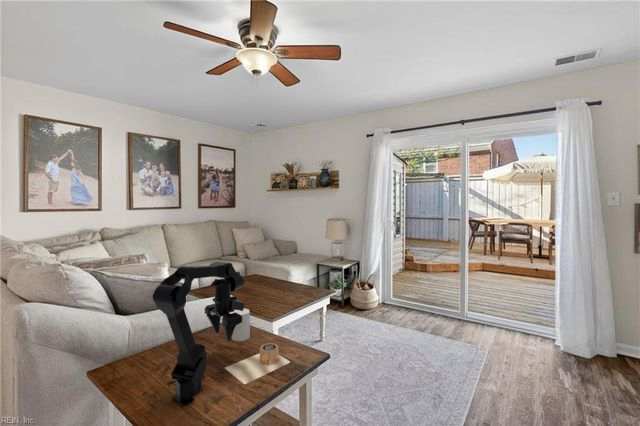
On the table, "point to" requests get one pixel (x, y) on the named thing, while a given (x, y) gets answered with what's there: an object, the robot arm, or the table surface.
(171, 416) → the table surface
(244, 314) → the cup
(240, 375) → the duct base
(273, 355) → the sleeve
